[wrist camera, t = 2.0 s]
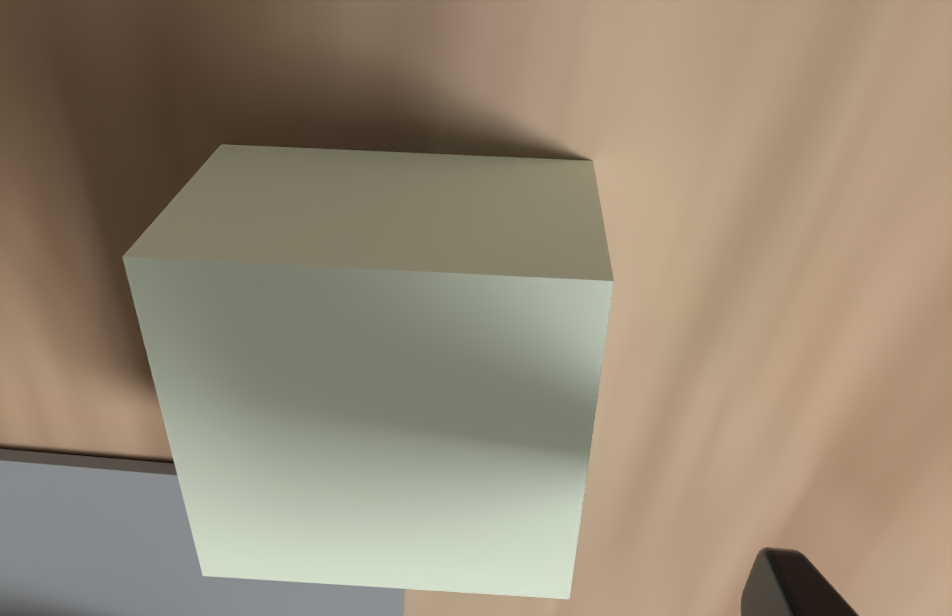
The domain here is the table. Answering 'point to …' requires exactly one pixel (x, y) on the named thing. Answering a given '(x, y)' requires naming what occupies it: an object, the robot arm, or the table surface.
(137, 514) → the slate mat
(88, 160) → the table surface
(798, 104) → the table surface
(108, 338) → the table surface
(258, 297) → the sage block
